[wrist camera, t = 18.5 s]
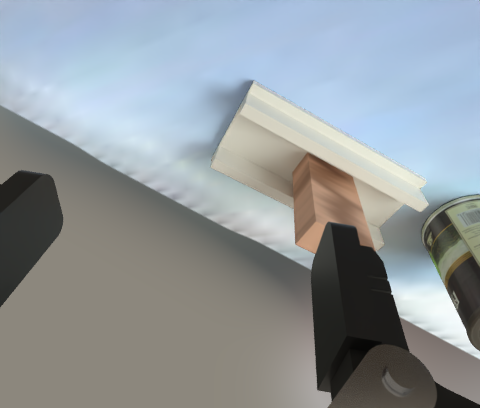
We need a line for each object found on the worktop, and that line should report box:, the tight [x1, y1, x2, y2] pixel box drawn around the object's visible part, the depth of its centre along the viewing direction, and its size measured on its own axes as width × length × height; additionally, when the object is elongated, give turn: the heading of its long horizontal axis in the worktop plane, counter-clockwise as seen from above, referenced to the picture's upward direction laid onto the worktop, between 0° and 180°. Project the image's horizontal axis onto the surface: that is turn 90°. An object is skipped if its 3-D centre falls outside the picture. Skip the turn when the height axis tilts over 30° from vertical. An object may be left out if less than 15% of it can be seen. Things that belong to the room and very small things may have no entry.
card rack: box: [210, 81, 429, 251], centre depth 38 cm, size 22×10×4 cm, turn 62°
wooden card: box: [292, 152, 375, 254], centre depth 34 cm, size 6×3×12 cm, turn 62°
